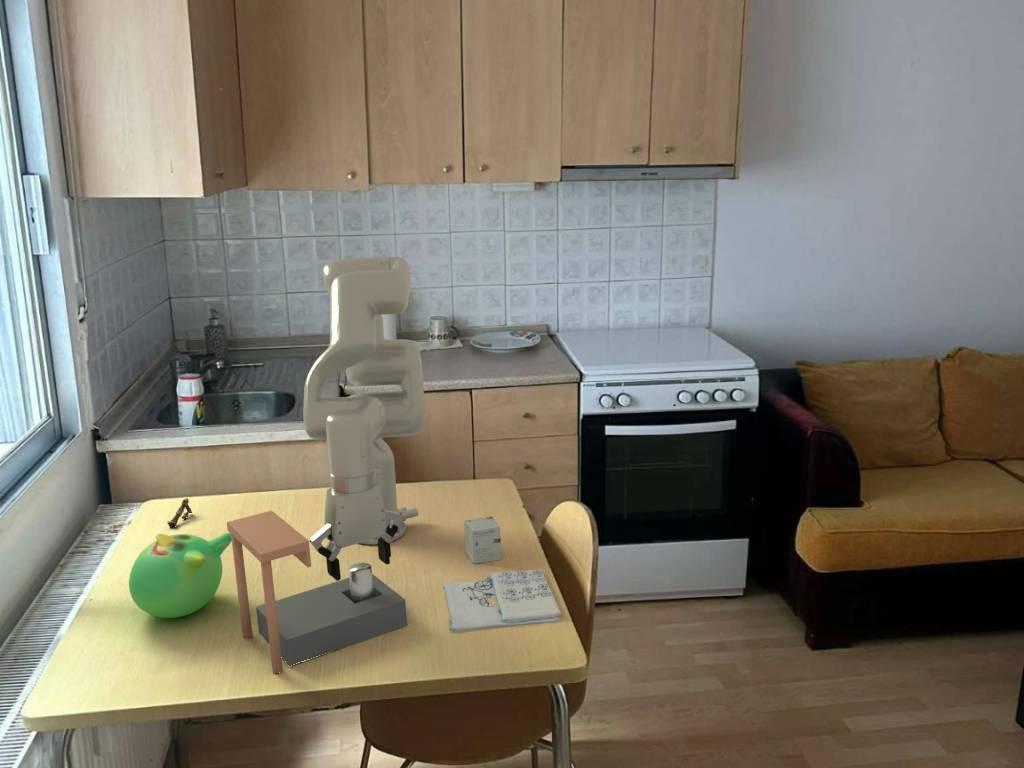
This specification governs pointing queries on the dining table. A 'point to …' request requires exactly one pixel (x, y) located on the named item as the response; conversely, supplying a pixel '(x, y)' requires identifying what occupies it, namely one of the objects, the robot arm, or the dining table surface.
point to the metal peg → (360, 582)
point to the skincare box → (482, 539)
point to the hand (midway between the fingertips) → (360, 569)
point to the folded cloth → (501, 601)
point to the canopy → (265, 566)
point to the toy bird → (177, 574)
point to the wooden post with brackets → (180, 513)
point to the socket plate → (332, 619)
